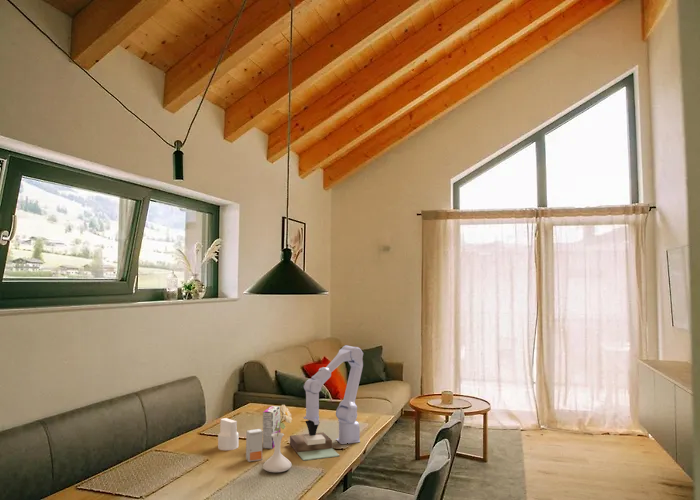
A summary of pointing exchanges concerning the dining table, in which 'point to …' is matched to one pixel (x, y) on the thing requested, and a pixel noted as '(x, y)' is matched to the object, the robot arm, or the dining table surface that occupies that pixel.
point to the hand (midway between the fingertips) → (312, 437)
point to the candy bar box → (270, 425)
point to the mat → (318, 454)
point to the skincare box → (254, 444)
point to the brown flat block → (301, 446)
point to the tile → (314, 439)
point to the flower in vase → (277, 459)
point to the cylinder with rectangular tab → (228, 435)
